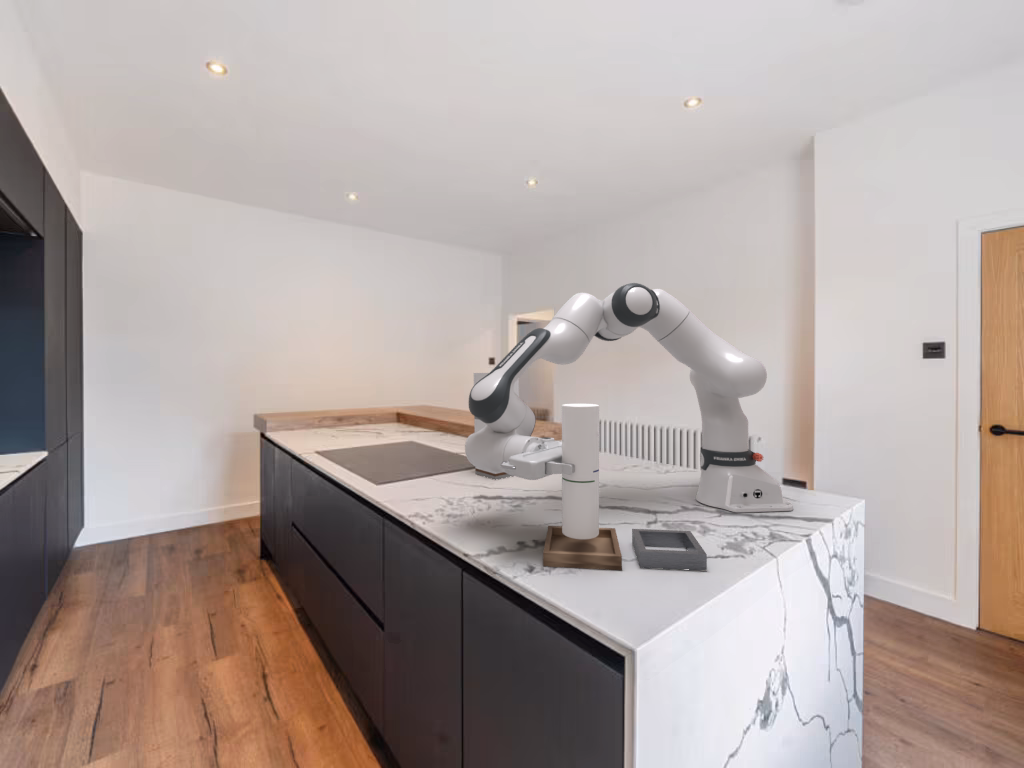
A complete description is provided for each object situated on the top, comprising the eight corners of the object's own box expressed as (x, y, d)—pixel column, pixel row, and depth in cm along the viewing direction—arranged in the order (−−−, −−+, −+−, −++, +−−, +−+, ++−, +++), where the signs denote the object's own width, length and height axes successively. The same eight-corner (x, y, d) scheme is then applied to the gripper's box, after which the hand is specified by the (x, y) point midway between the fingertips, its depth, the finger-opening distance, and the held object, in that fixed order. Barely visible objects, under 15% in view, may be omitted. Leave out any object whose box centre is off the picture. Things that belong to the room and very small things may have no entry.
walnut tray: (615, 540, 92) (615, 528, 92) (621, 570, 79) (621, 556, 79) (548, 537, 95) (548, 525, 94) (543, 566, 81) (543, 552, 81)
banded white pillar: (520, 474, 151) (518, 372, 150) (495, 480, 144) (493, 372, 143) (499, 469, 160) (497, 372, 159) (475, 474, 153) (473, 373, 152)
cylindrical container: (605, 531, 87) (606, 404, 86) (585, 542, 82) (586, 407, 81) (575, 523, 92) (575, 402, 91) (554, 532, 86) (554, 405, 85)
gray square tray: (690, 545, 89) (690, 530, 89) (706, 571, 78) (706, 554, 78) (632, 543, 91) (632, 528, 91) (640, 568, 79) (639, 551, 79)
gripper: (495, 449, 86) (555, 458, 77) (552, 436, 102) (607, 442, 93) (495, 481, 86) (555, 493, 78) (552, 463, 102) (607, 471, 94)
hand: (584, 465), depth 86 cm, fingers closed on cylindrical container, 7 cm apart
